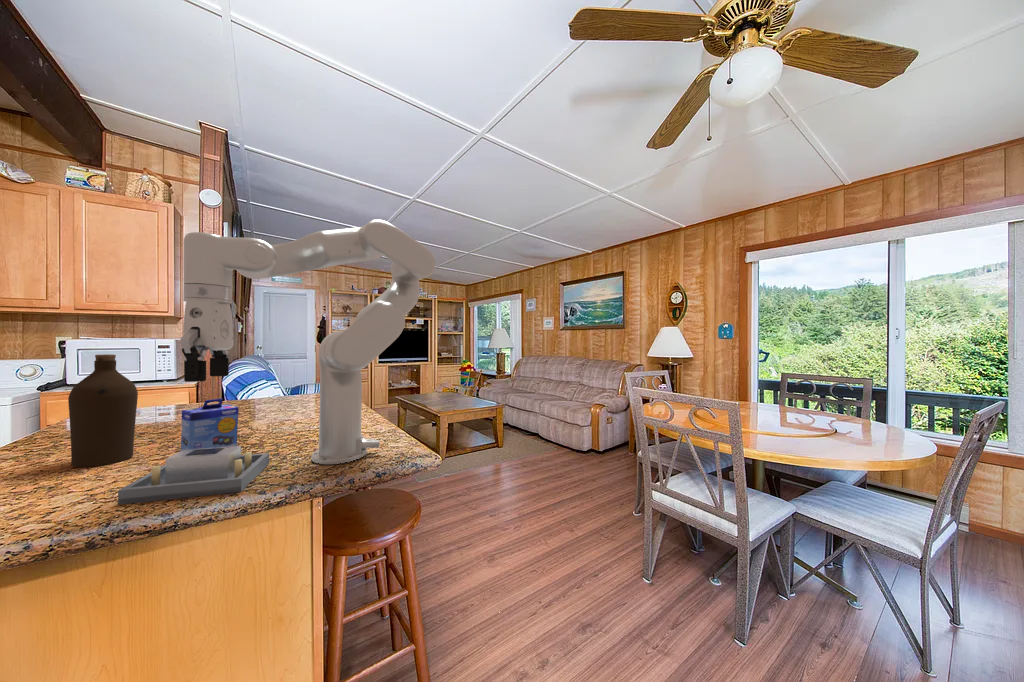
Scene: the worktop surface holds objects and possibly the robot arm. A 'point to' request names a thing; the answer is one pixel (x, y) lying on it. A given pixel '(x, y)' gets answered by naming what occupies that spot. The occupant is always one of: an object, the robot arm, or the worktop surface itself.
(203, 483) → the pin tray
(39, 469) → the worktop surface
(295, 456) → the worktop surface
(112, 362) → the olive oil
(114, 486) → the worktop surface
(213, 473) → the grey rectangular block
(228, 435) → the ink cartridge box
